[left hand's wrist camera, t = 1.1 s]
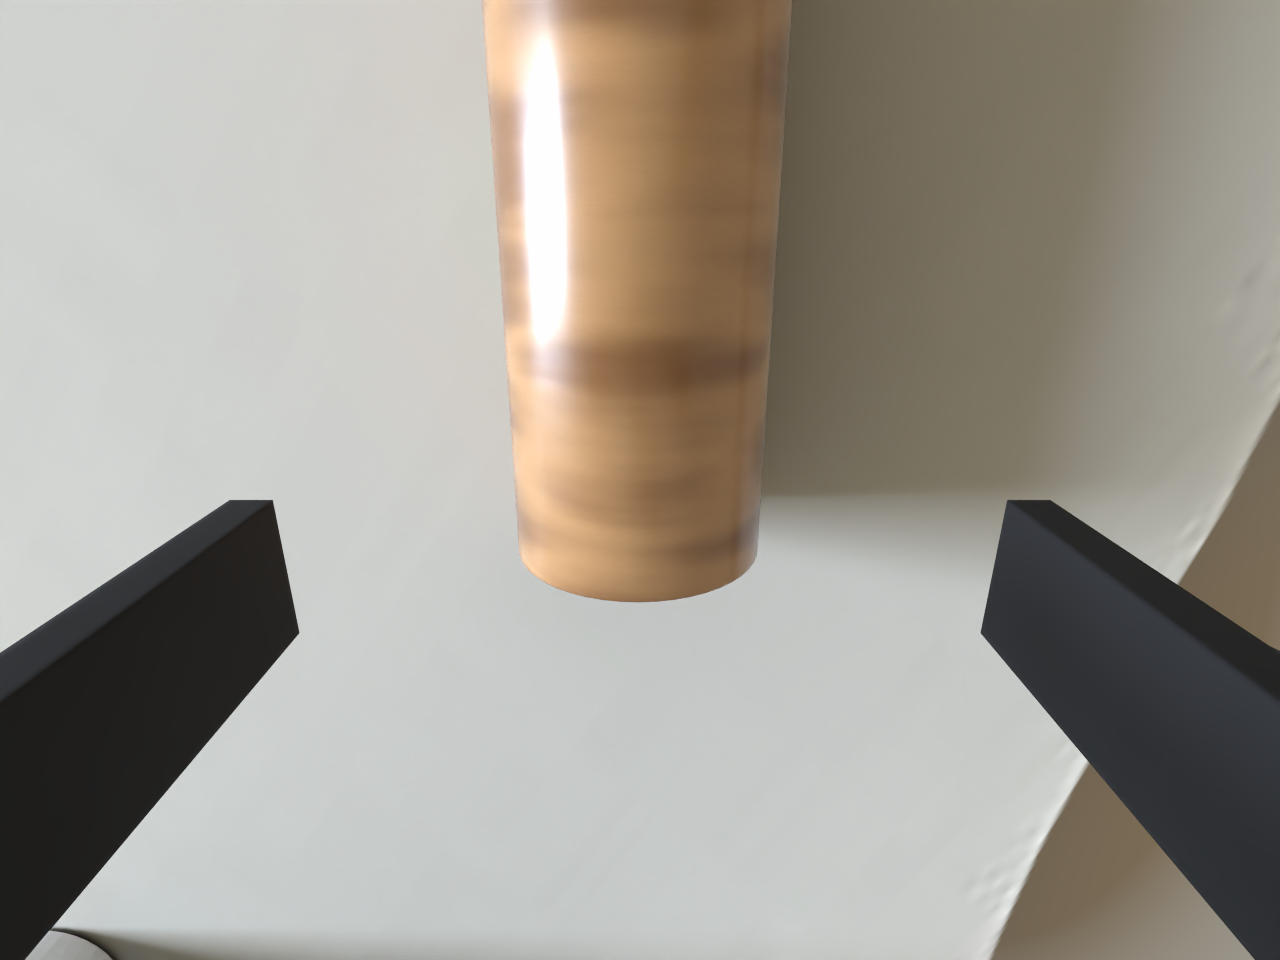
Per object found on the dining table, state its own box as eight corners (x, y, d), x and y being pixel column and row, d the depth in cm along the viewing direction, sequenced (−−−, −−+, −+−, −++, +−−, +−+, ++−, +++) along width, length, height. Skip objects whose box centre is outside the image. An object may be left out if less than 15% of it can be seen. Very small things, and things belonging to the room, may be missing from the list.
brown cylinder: (739, 499, 27) (778, 602, 19) (537, 499, 27) (498, 603, 19) (793, -523, 17) (911, -1096, 10) (479, -523, 17) (358, -1097, 10)
